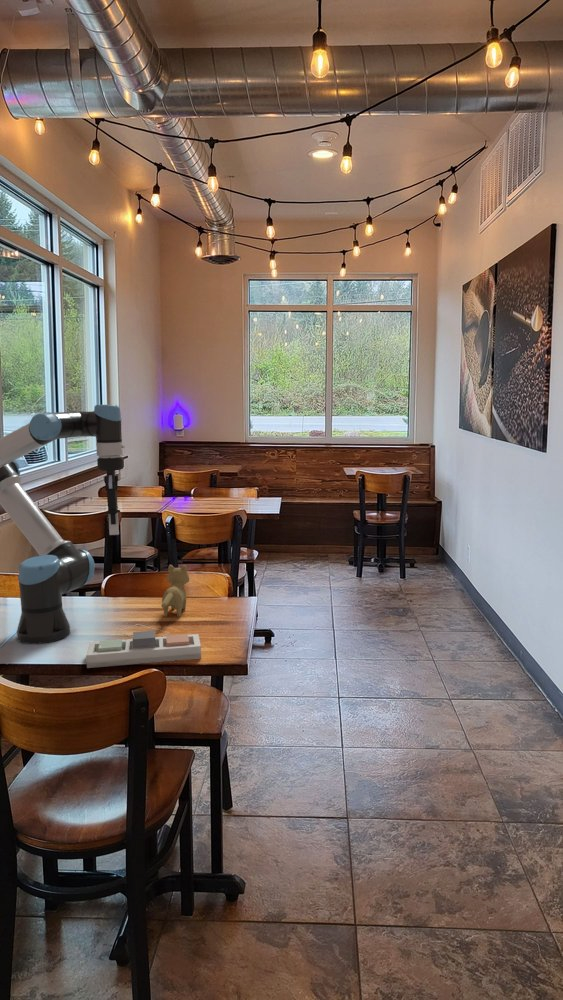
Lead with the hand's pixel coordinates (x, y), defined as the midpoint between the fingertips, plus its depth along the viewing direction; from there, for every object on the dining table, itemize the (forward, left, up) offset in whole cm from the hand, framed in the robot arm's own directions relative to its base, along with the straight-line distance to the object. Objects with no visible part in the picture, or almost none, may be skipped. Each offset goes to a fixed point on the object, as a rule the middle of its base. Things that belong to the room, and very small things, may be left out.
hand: (114, 534), depth 211 cm
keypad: (+8, -27, -29) cm, 40 cm away
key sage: (-1, -27, -27) cm, 38 cm away
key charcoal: (+8, -27, -26) cm, 38 cm away
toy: (+17, +9, -30) cm, 35 cm away
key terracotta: (+17, -26, -27) cm, 42 cm away
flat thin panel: (+7, -6, -30) cm, 31 cm away
